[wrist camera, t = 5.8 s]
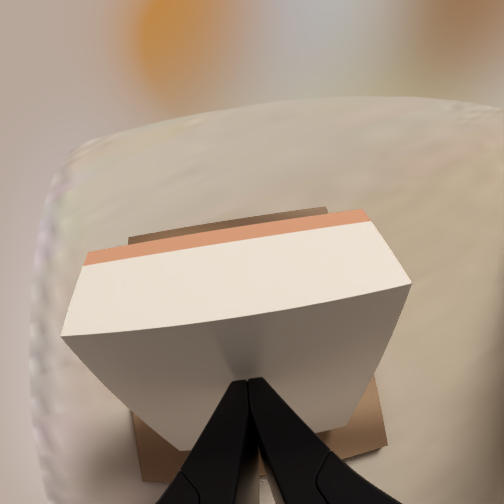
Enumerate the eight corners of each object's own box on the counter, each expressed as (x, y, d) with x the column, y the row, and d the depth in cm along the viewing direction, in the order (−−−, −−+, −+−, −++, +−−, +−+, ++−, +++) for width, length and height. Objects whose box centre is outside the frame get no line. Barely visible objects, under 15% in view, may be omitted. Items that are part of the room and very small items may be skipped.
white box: (346, 425, 13) (412, 283, 6) (179, 450, 12) (59, 335, 6) (330, 374, 15) (362, 209, 9) (178, 397, 15) (88, 252, 8)
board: (383, 444, 13) (387, 445, 13) (146, 479, 13) (142, 481, 12) (324, 211, 21) (325, 206, 20) (131, 241, 20) (128, 237, 20)
